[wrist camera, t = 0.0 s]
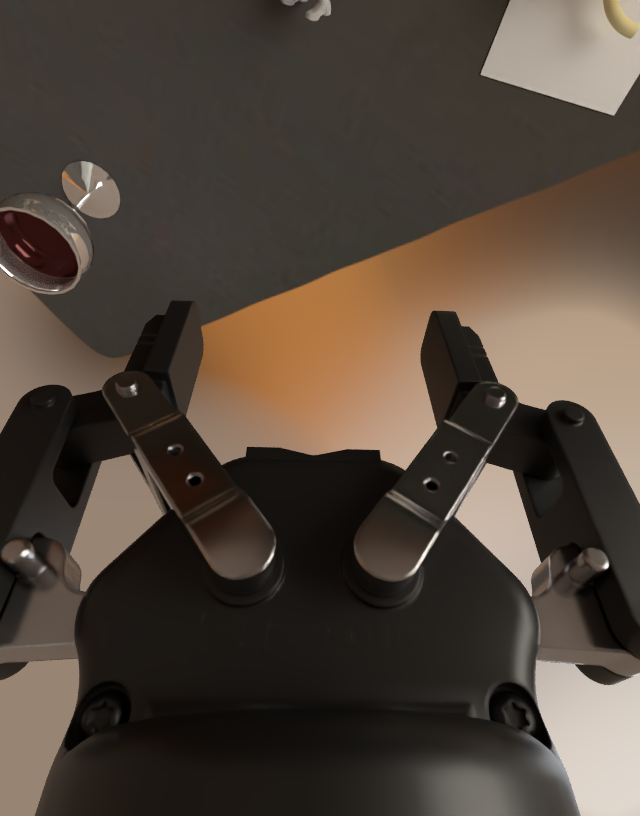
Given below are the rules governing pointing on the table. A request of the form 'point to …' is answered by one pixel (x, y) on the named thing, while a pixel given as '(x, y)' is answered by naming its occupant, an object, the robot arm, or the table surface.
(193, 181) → the table surface
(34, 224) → the wineglass
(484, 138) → the table surface
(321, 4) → the soldier figure
